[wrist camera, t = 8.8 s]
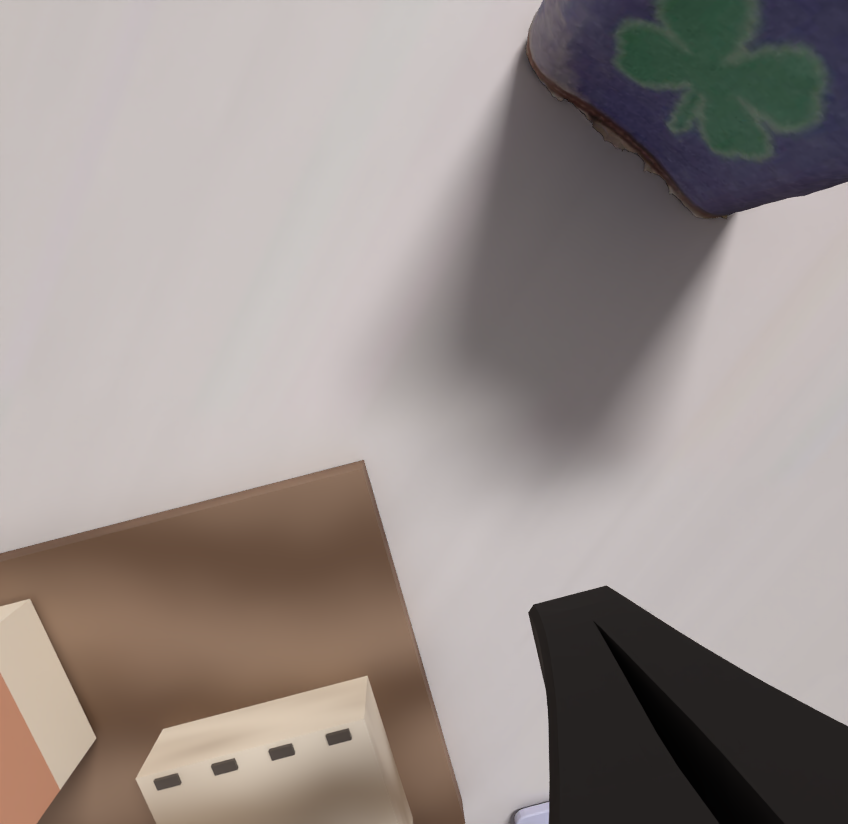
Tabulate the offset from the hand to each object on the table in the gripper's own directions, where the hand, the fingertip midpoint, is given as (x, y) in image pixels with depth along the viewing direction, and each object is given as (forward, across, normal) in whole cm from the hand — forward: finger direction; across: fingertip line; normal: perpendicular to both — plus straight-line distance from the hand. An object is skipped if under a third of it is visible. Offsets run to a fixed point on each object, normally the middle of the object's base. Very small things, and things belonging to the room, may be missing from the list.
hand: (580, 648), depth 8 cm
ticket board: (+10, +14, +7) cm, 19 cm away
